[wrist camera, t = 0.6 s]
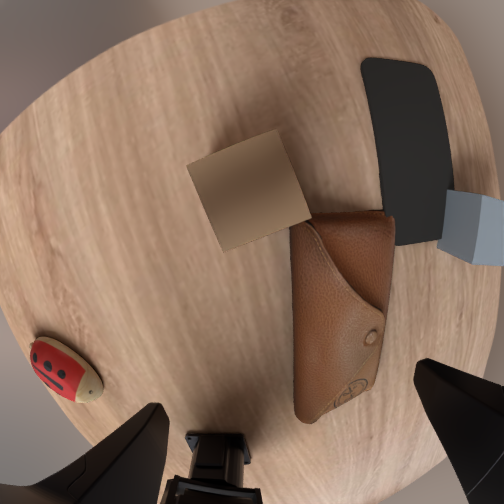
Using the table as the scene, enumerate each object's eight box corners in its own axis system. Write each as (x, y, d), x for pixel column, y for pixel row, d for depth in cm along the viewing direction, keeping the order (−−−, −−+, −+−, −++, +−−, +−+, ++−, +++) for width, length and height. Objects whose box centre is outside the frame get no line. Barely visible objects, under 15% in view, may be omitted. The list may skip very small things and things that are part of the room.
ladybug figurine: (102, 403, 25) (90, 423, 21) (37, 359, 24) (21, 375, 20) (109, 367, 23) (95, 389, 20) (37, 319, 22) (18, 334, 19)
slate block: (471, 250, 20) (506, 266, 15) (436, 247, 20) (472, 264, 15) (478, 198, 18) (515, 205, 14) (443, 189, 18) (482, 194, 14)
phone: (432, 66, 15) (456, 236, 19) (427, 69, 16) (450, 234, 20) (357, 56, 16) (386, 248, 19) (354, 60, 16) (382, 245, 20)
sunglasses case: (376, 391, 23) (360, 440, 17) (312, 380, 27) (285, 423, 21) (395, 205, 19) (391, 218, 13) (309, 205, 22) (273, 217, 17)
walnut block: (297, 208, 19) (311, 217, 14) (230, 234, 20) (223, 252, 15) (270, 142, 18) (276, 128, 13) (203, 169, 18) (186, 165, 14)
